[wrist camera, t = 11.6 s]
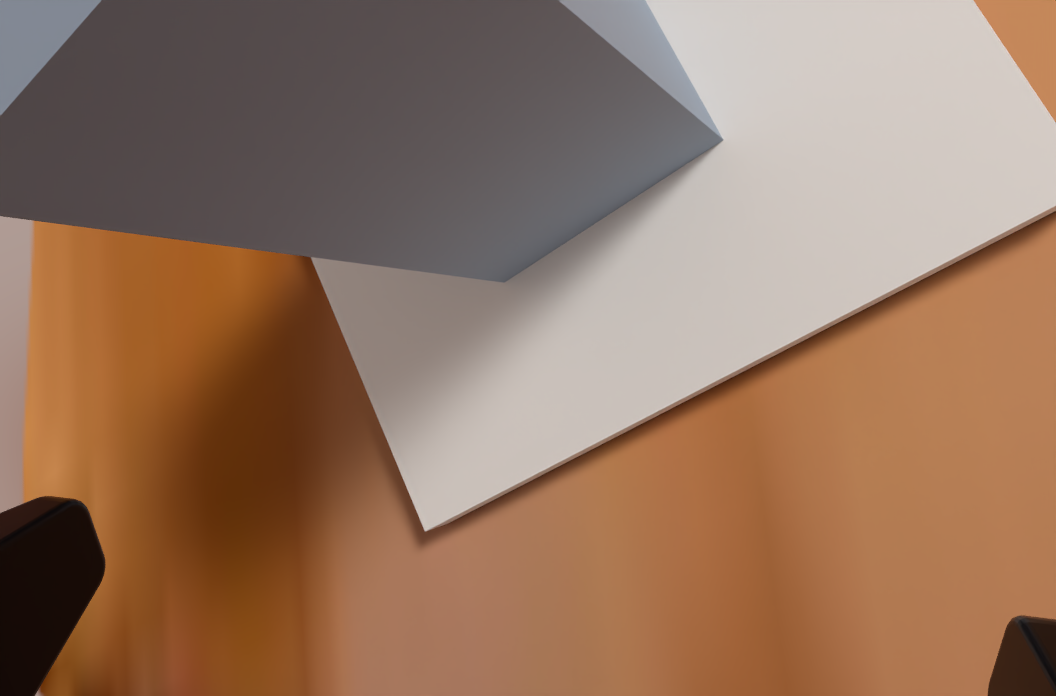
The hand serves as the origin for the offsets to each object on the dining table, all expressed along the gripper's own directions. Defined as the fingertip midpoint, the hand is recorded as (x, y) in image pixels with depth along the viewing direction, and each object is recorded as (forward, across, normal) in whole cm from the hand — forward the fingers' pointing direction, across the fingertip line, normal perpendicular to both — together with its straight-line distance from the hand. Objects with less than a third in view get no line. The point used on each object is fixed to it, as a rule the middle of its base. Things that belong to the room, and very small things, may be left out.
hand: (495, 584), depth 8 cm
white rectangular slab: (+13, +1, 0) cm, 13 cm away
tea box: (+13, +2, -2) cm, 13 cm away
